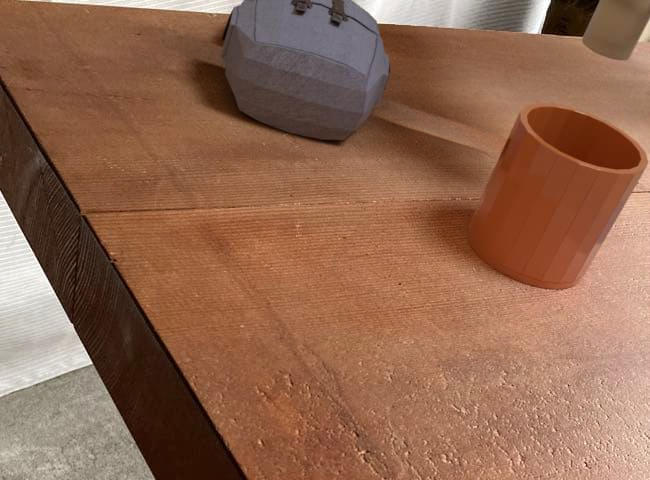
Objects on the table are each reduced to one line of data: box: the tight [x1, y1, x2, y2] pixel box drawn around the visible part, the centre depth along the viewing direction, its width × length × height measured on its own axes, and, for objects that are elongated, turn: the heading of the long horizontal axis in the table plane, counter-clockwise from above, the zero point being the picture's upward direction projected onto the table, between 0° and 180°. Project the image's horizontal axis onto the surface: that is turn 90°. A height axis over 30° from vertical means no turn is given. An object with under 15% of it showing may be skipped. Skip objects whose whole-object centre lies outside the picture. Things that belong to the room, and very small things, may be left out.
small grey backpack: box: [220, 0, 391, 141], centre depth 88 cm, size 15×8×20 cm
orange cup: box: [466, 102, 649, 290], centre depth 77 cm, size 10×10×10 cm
